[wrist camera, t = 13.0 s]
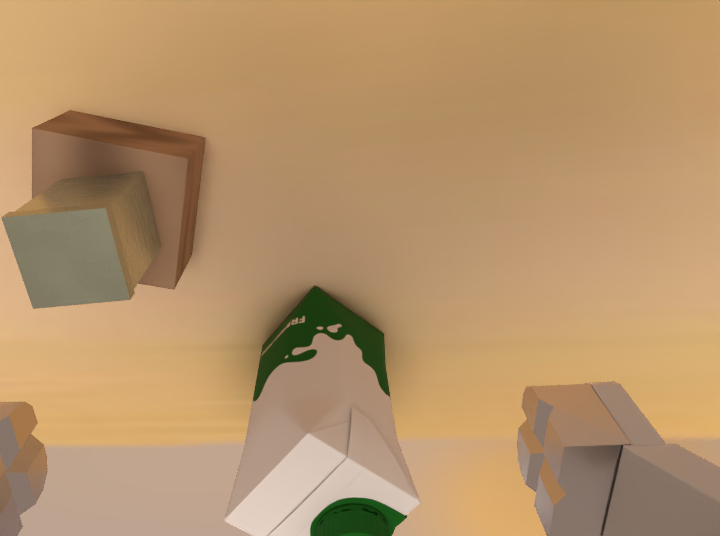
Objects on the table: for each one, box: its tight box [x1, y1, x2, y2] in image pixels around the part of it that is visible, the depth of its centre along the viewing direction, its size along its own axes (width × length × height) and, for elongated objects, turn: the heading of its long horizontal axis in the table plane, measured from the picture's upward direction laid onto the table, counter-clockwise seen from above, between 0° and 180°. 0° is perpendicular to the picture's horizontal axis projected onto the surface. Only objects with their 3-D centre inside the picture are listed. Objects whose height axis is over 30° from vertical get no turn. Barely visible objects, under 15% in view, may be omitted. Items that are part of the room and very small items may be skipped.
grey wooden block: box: [1, 172, 161, 309], centre depth 35 cm, size 5×5×7 cm
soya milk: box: [224, 286, 420, 536], centre depth 40 cm, size 9×9×20 cm
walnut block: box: [32, 111, 205, 289], centre depth 41 cm, size 9×9×6 cm
